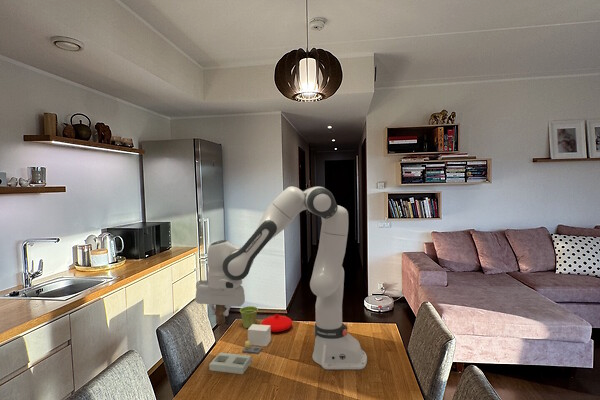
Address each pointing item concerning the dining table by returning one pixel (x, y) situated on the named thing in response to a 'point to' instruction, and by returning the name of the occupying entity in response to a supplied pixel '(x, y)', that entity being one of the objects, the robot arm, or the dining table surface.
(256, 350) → the plate
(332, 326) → the robot arm
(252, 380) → the dining table surface
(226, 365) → the peg board
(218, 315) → the peg
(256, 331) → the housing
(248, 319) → the plant pot
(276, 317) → the red domed lid
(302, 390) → the dining table surface
